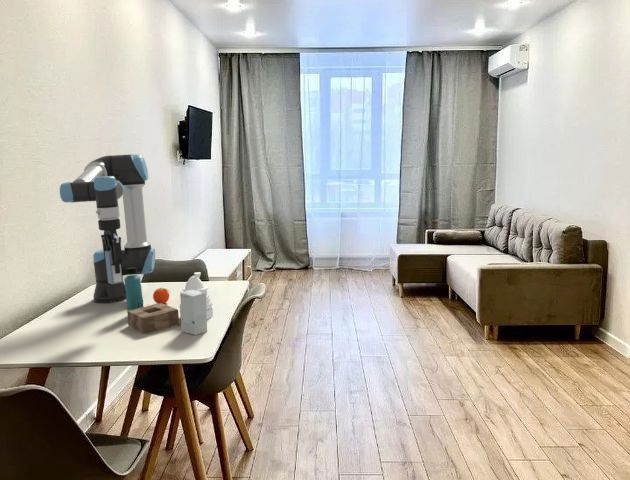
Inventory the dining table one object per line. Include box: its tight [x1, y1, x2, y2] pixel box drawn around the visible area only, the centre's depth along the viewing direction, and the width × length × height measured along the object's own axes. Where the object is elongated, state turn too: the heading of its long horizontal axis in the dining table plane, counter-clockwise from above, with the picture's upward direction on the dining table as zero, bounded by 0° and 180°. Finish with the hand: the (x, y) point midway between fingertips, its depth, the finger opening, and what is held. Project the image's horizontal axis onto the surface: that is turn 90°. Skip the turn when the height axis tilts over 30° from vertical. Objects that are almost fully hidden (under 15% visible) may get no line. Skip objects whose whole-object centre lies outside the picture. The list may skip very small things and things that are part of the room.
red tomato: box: [152, 287, 171, 304], centre depth 246 cm, size 8×7×7 cm
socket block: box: [126, 303, 180, 335], centre depth 216 cm, size 14×14×6 cm
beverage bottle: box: [123, 267, 145, 312], centre depth 228 cm, size 6×7×20 cm
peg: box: [105, 250, 124, 284], centre depth 210 cm, size 4×4×12 cm
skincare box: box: [179, 290, 208, 336], centre depth 205 cm, size 8×6×15 cm
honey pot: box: [179, 271, 214, 320], centre depth 224 cm, size 13×13×18 cm
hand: (115, 280), depth 210 cm, fingers closed on peg, 4 cm apart
